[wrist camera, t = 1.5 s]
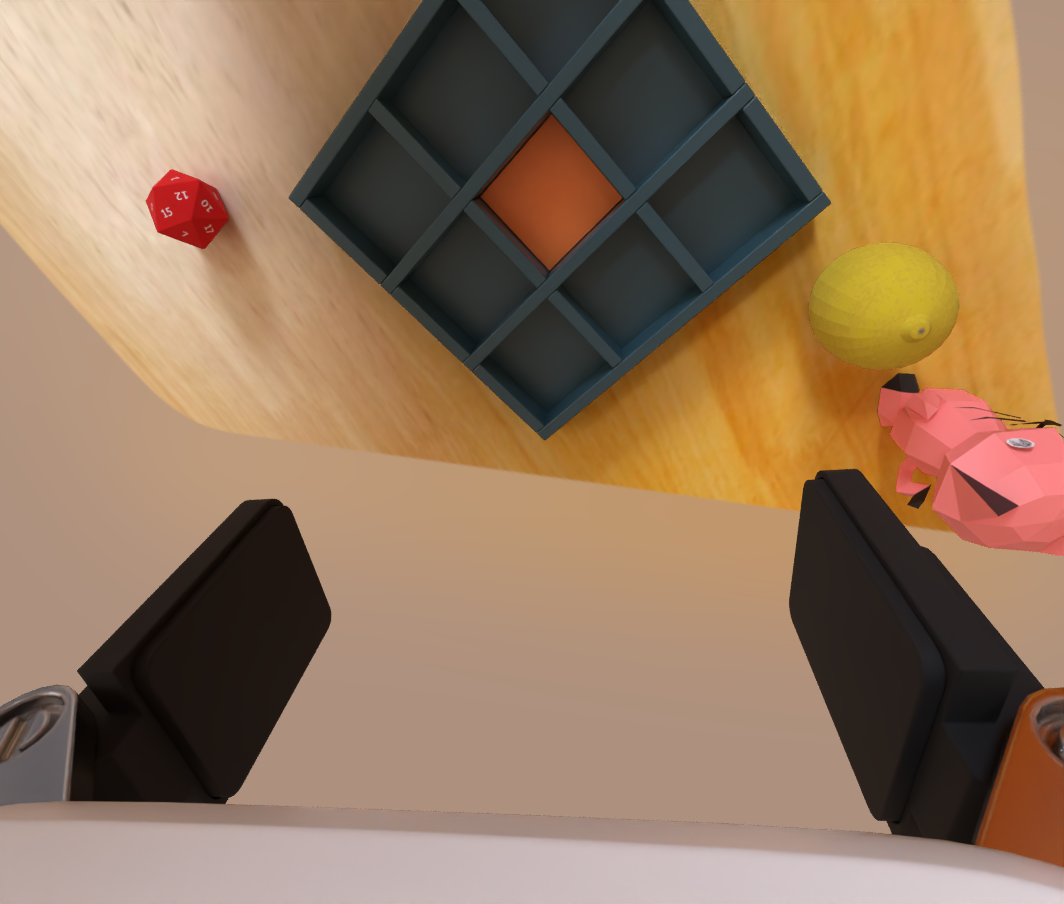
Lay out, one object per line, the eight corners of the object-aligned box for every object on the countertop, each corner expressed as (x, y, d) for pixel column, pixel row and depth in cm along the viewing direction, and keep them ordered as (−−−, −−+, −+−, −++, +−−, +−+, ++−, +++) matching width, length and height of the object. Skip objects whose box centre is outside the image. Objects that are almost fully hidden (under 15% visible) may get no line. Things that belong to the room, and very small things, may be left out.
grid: (310, 193, 30) (287, 197, 28) (557, -160, 22) (552, -192, 20) (548, 422, 35) (544, 441, 33) (813, 198, 28) (832, 203, 25)
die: (149, 230, 31) (151, 250, 28) (141, 160, 29) (143, 176, 26) (223, 237, 33) (233, 257, 30) (220, 173, 31) (230, 188, 28)
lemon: (860, 351, 31) (937, 411, 24) (769, 318, 31) (819, 370, 24) (925, 252, 28) (1032, 288, 21) (825, 215, 28) (901, 239, 21)
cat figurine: (1010, 384, 31) (1221, 506, 20) (925, 480, 34) (1069, 627, 24) (898, 337, 30) (1057, 439, 20) (823, 440, 34) (925, 573, 23)
